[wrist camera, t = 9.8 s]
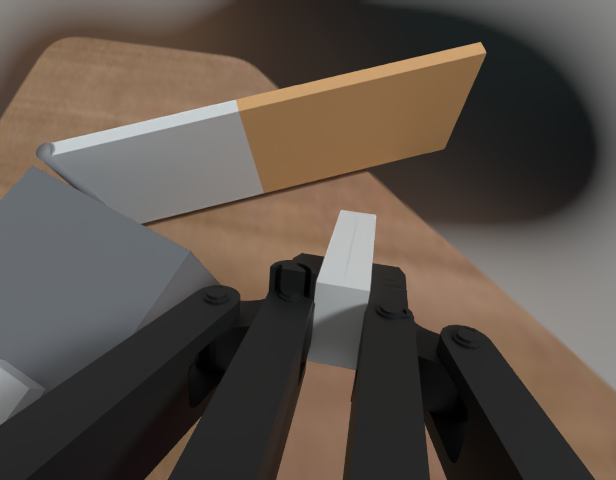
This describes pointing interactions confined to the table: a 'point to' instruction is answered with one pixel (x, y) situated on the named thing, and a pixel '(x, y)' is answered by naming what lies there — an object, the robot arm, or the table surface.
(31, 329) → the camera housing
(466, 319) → the table surface
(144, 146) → the side door
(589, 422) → the table surface
